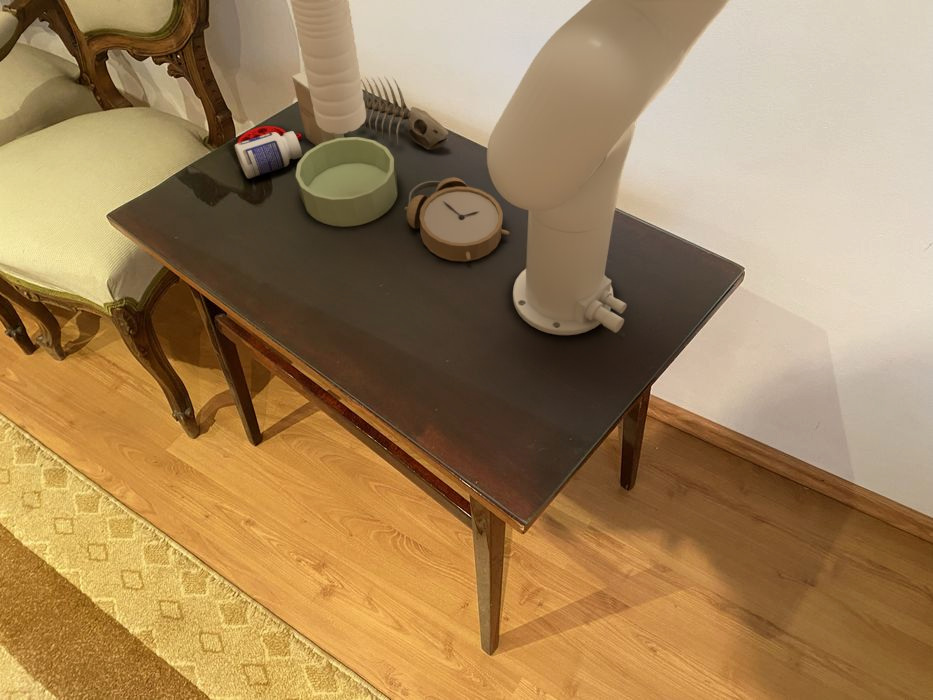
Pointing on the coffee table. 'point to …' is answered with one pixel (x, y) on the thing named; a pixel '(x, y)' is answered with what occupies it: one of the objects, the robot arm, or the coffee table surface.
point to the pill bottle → (267, 153)
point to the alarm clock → (456, 220)
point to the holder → (347, 181)
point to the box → (310, 112)
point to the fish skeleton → (416, 126)
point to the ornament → (257, 133)
